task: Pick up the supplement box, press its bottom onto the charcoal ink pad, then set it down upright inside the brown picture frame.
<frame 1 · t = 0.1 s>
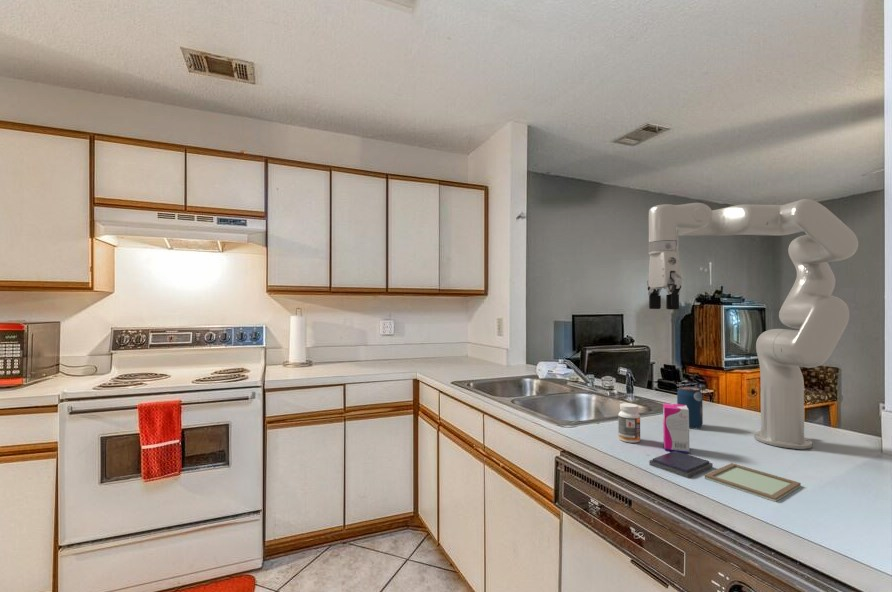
hand: (663, 309, 118), 37 cm above the worktop, tool pointing down, fingers open, 9 cm apart
brown picture frame: (751, 482, 90), on the worktop
supplement box: (676, 449, 111), on the worktop
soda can: (689, 426, 132), on the worktop
pill bottle: (629, 440, 118), on the worktop
ink pad: (680, 466, 99), on the worktop
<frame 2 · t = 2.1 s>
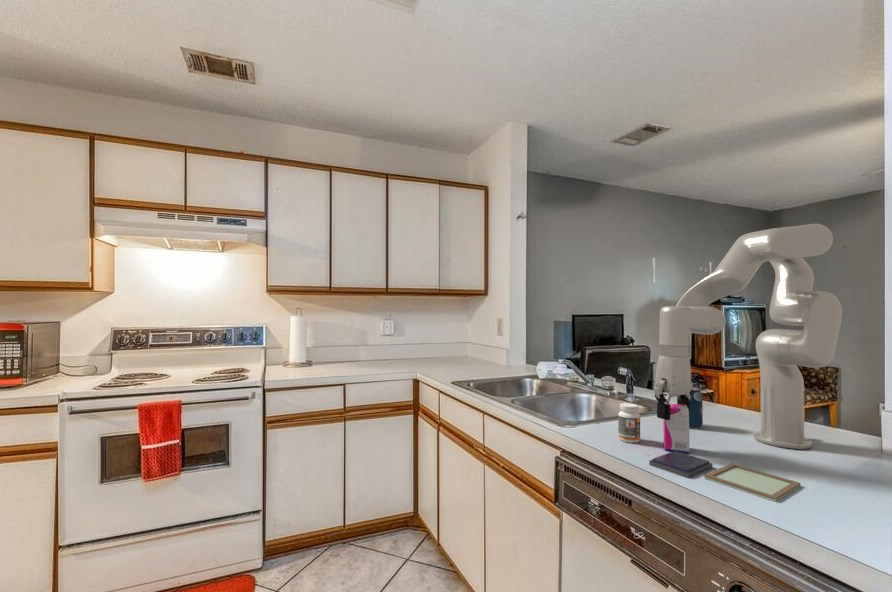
hand: (673, 416, 111), 9 cm above the worktop, tool pointing down, fingers open, 9 cm apart
nothing on the worktop moved.
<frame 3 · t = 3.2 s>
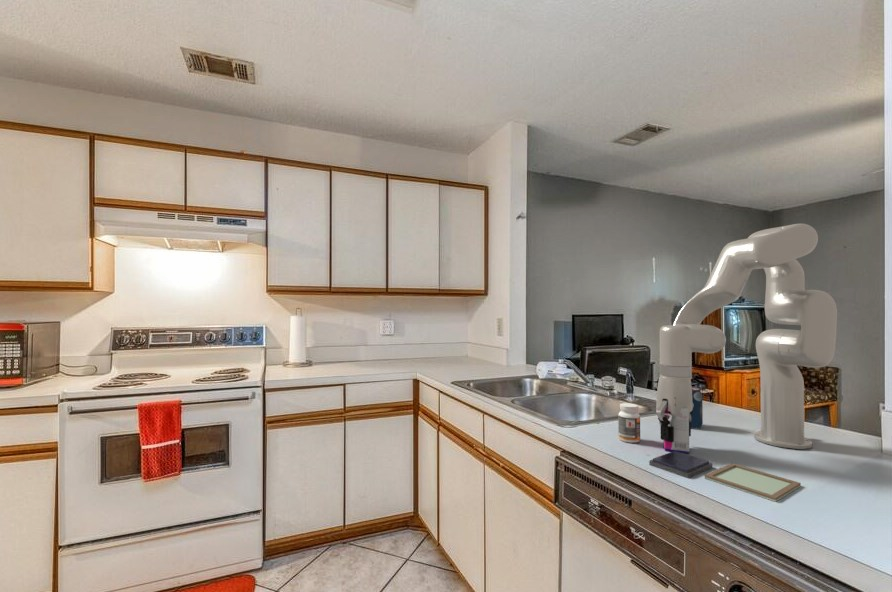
hand: (675, 437, 111), 3 cm above the worktop, tool pointing down, fingers closed on supplement box, 7 cm apart
supplement box: (675, 449, 111), on the worktop, touching gripper
everything else where it was.
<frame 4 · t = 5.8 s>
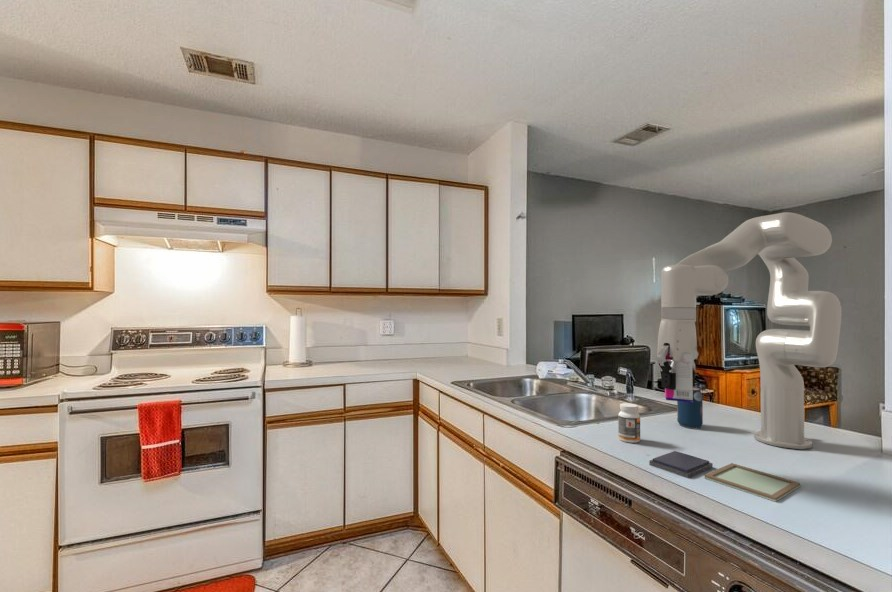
hand: (678, 386, 102), 18 cm above the worktop, tool pointing down, fingers closed on supplement box, 7 cm apart
supplement box: (678, 399, 102), point 15 cm above the worktop, touching gripper
everything else where it was.
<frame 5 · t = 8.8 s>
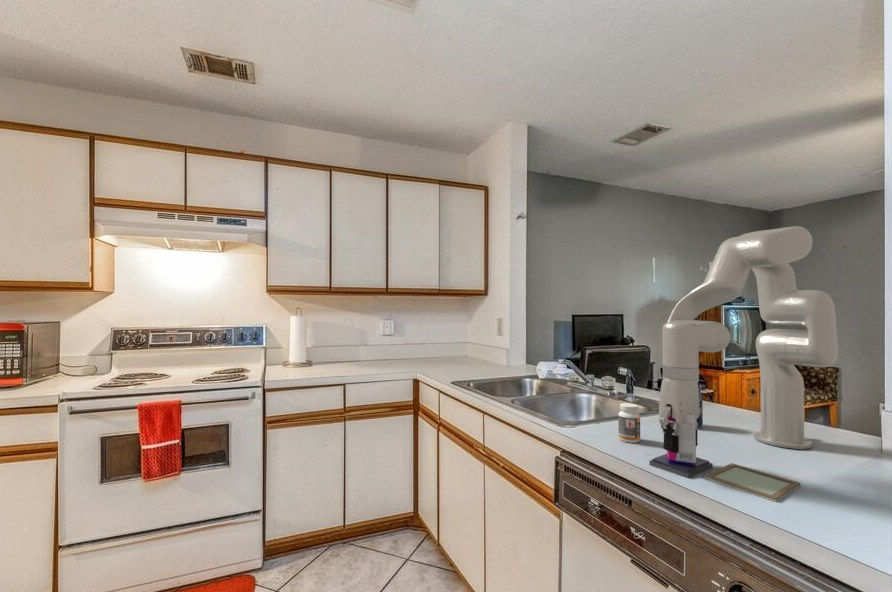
hand: (680, 447, 99), 4 cm above the worktop, tool pointing down, fingers closed on supplement box, 7 cm apart
supplement box: (680, 460, 99), point 1 cm above the worktop, touching gripper, ink pad
everything else where it was.
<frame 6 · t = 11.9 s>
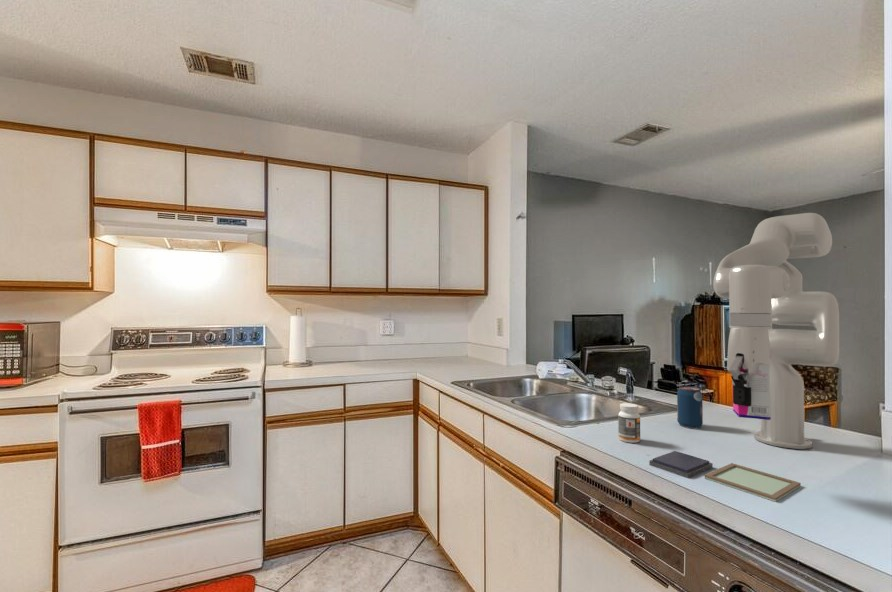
hand: (750, 402, 91), 17 cm above the worktop, tool pointing down, fingers closed on supplement box, 7 cm apart
supplement box: (750, 416, 91), point 14 cm above the worktop, touching gripper
everything else where it was.
when the fingers open (5 cm above the worktop, at t = 14.7 s): supplement box drops 2 cm, resting on brown picture frame.
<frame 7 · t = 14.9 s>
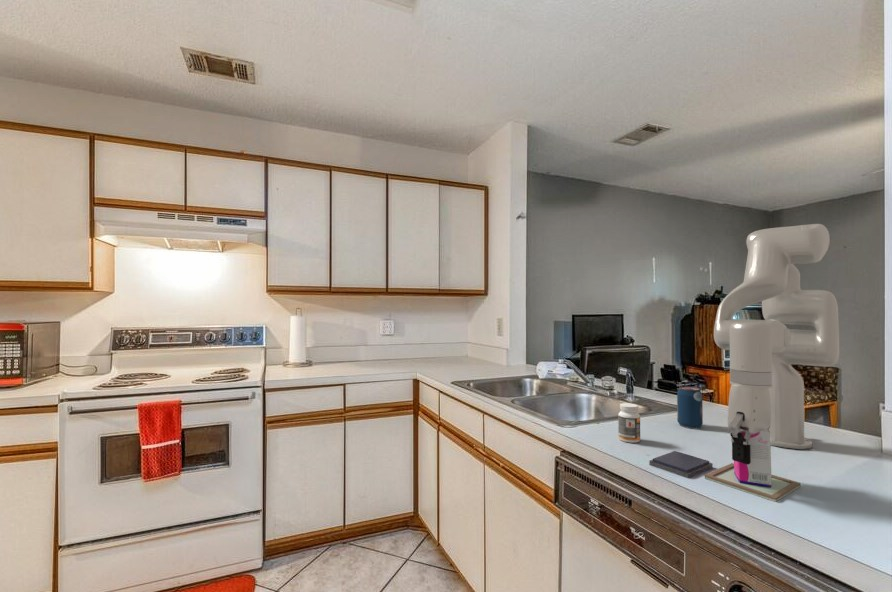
hand: (751, 457, 90), 5 cm above the worktop, tool pointing down, fingers open, 9 cm apart
supplement box: (751, 481, 90), resting on brown picture frame
everything else where it was.
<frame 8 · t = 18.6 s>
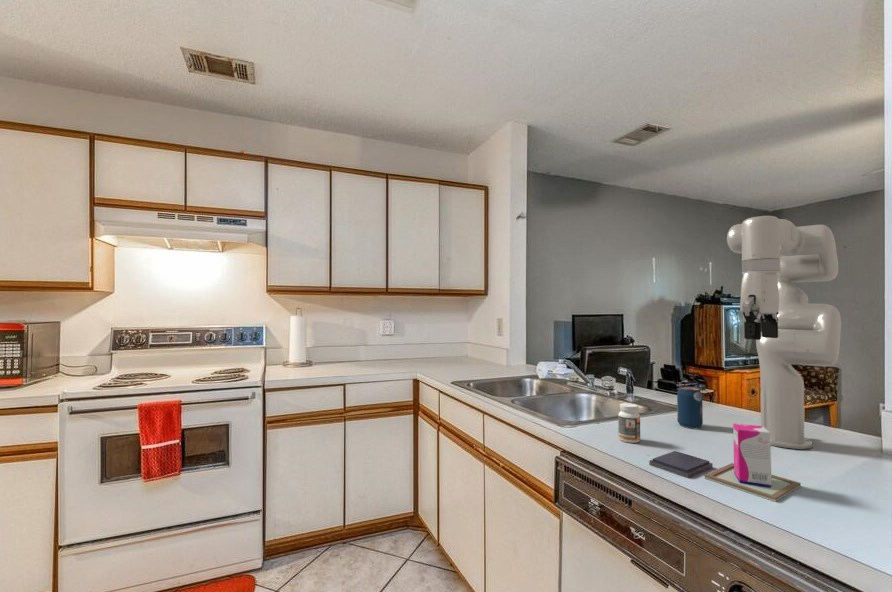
hand: (761, 338, 101), 30 cm above the worktop, tool pointing down, fingers open, 9 cm apart
nothing on the worktop moved.
at the end: supplement box 0.3 cm off-centre on the brown picture frame, point 0.1 cm above the brown picture frame's base; supplement box tilted 0°; the gripper is holding nothing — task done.
